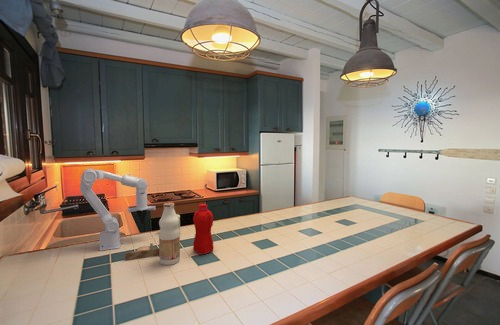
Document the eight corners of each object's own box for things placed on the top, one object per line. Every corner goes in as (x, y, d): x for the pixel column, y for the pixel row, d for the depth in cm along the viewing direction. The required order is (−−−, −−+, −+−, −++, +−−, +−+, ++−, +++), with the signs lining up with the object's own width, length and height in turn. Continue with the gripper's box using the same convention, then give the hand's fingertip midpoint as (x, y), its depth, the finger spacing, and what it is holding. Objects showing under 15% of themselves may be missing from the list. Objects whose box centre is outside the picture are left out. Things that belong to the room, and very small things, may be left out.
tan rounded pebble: (136, 257, 126) (136, 251, 125) (137, 252, 131) (137, 247, 131) (149, 255, 128) (149, 250, 128) (149, 251, 133) (149, 245, 133)
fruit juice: (160, 267, 116) (159, 206, 114) (158, 258, 124) (157, 202, 122) (181, 263, 120) (181, 204, 118) (178, 255, 129) (177, 200, 126)
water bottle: (218, 249, 135) (218, 203, 133) (201, 256, 127) (201, 207, 125) (207, 245, 142) (207, 200, 140) (190, 251, 134) (190, 204, 132)
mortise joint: (125, 260, 122) (125, 253, 122) (126, 253, 130) (126, 246, 130) (160, 255, 128) (160, 248, 128) (160, 248, 136) (159, 242, 136)
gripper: (126, 202, 138) (127, 226, 139) (155, 200, 143) (155, 223, 145) (127, 199, 145) (128, 223, 146) (155, 197, 150) (155, 220, 151)
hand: (142, 223), depth 146 cm, fingers closed
